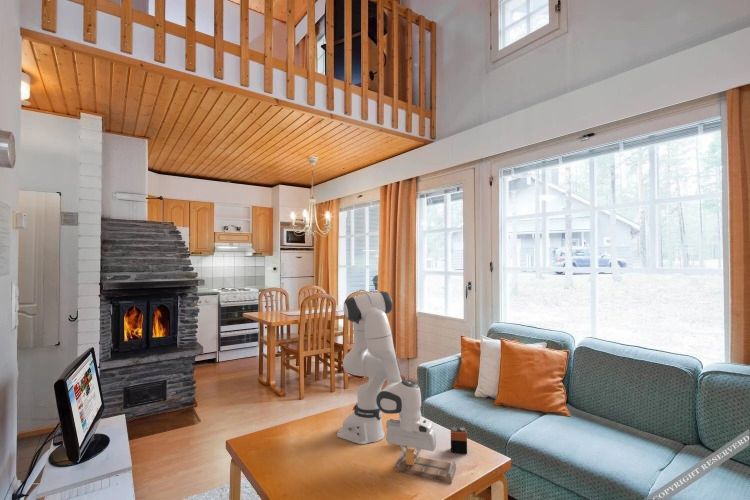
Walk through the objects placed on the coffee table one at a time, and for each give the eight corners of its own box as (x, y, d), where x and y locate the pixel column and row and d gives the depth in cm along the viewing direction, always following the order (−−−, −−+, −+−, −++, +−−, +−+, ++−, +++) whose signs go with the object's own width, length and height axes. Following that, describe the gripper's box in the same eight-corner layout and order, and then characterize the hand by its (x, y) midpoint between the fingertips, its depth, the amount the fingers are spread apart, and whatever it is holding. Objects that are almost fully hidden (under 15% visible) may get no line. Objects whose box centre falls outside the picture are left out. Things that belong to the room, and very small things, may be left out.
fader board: (395, 471, 146) (395, 463, 146) (402, 458, 155) (402, 450, 155) (451, 483, 138) (451, 474, 138) (455, 469, 147) (455, 460, 147)
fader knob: (405, 464, 147) (405, 451, 147) (409, 457, 152) (408, 445, 152) (413, 465, 146) (412, 452, 146) (416, 459, 150) (416, 446, 151)
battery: (467, 454, 158) (466, 431, 158) (451, 453, 159) (450, 429, 159) (466, 449, 162) (466, 426, 162) (450, 448, 163) (450, 425, 163)
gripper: (383, 421, 150) (383, 456, 150) (433, 429, 142) (433, 466, 142) (388, 415, 156) (389, 448, 156) (436, 422, 148) (437, 457, 148)
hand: (410, 457), depth 149 cm, fingers closed on fader knob, 3 cm apart
